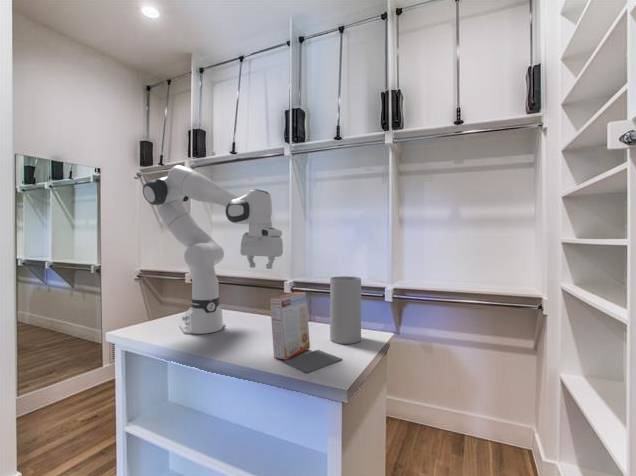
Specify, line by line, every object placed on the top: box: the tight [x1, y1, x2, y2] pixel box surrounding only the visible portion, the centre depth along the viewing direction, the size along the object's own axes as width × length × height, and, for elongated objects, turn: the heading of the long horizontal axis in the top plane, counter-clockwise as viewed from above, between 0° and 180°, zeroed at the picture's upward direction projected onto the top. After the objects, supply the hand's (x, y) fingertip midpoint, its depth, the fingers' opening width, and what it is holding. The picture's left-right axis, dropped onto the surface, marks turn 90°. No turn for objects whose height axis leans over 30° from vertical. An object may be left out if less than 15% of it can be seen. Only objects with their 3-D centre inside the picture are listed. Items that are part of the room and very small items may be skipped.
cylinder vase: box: [329, 275, 362, 345], centre depth 132 cm, size 12×12×25 cm
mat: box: [282, 349, 343, 374], centre depth 109 cm, size 12×16×1 cm
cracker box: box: [269, 291, 311, 361], centre depth 116 cm, size 14×6×21 cm, turn 145°
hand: (260, 268), depth 124 cm, fingers open, 8 cm apart
